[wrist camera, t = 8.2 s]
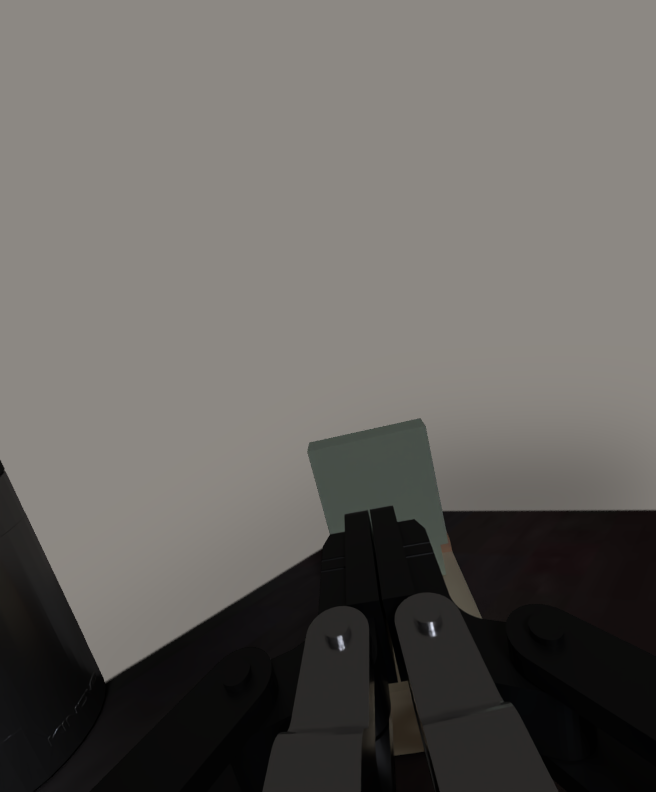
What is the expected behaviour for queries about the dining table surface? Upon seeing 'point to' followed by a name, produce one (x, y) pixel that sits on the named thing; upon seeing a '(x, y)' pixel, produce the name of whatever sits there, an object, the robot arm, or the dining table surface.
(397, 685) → the beige open box
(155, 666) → the dining table surface
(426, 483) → the green rectangular slab
